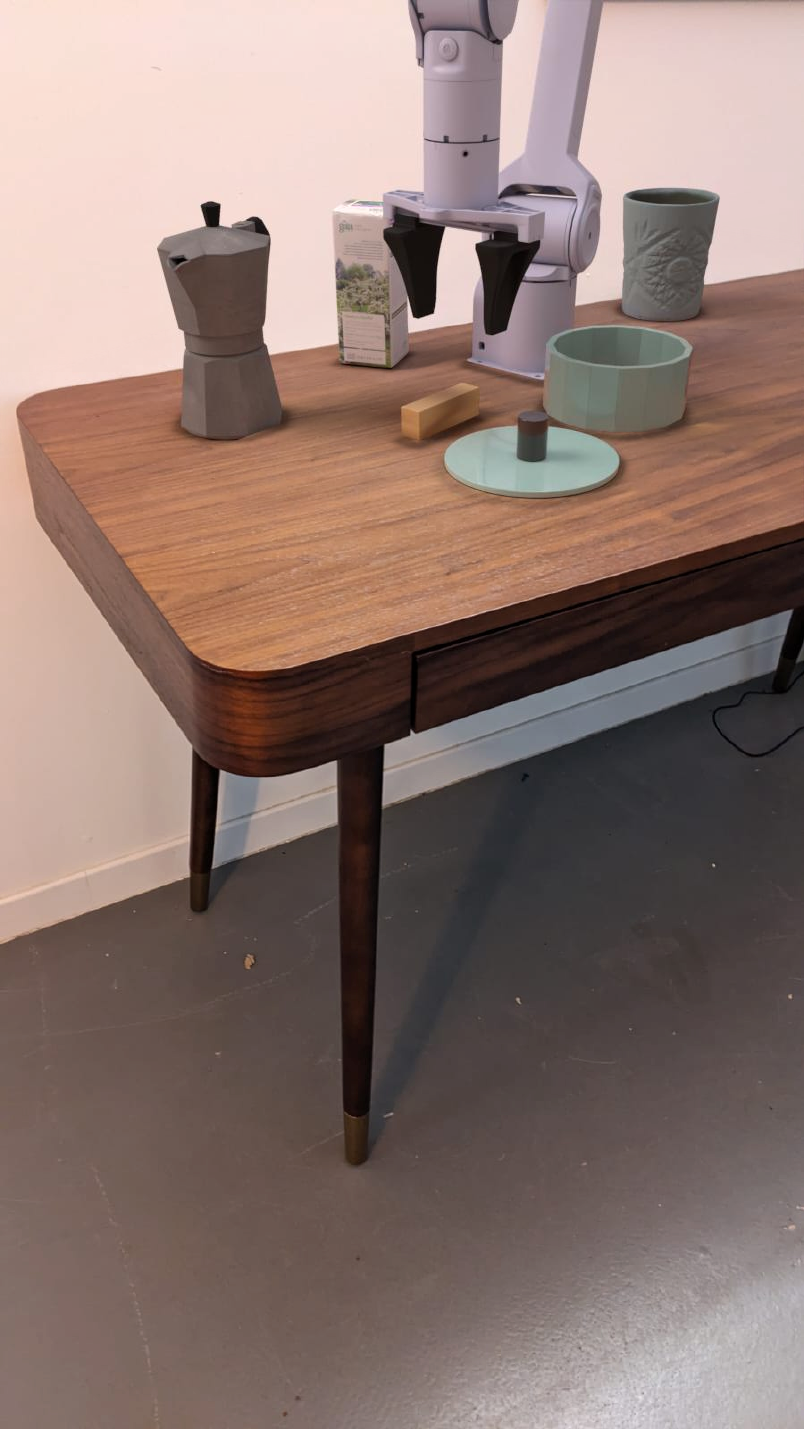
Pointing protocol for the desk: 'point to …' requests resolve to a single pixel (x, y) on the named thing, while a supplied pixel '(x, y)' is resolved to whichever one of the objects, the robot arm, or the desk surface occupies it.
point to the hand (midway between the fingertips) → (458, 323)
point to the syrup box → (368, 288)
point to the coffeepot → (222, 325)
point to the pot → (616, 378)
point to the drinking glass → (666, 251)
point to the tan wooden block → (440, 411)
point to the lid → (531, 459)
